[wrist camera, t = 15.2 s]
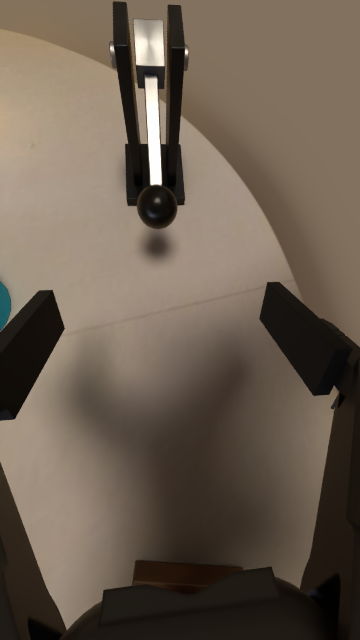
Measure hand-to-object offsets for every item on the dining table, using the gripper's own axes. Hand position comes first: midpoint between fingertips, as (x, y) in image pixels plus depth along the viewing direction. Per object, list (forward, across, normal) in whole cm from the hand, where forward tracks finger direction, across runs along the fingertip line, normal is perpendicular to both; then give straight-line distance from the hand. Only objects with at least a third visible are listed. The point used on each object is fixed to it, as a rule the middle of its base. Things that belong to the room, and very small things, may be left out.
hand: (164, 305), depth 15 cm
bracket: (+22, 0, +6) cm, 23 cm away
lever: (+14, 0, +9) cm, 16 cm away
